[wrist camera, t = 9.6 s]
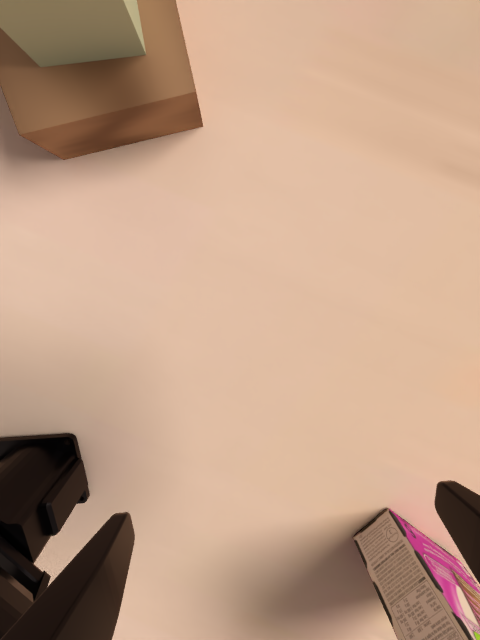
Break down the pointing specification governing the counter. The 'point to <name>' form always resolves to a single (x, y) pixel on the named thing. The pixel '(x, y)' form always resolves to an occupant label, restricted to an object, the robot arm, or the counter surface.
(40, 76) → the walnut block
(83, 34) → the green cube
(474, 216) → the counter surface
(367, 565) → the candy bar box
